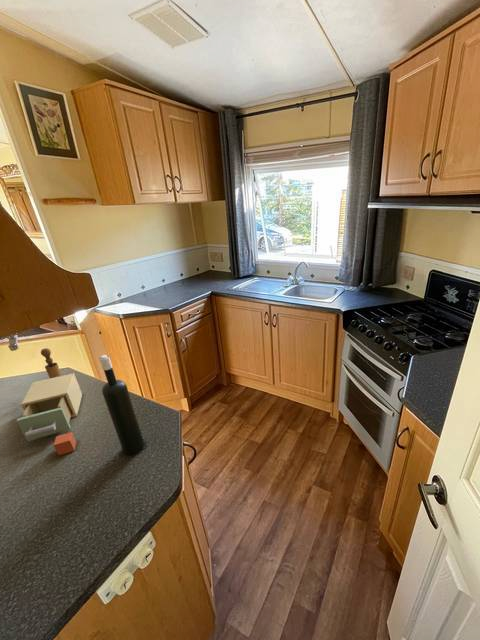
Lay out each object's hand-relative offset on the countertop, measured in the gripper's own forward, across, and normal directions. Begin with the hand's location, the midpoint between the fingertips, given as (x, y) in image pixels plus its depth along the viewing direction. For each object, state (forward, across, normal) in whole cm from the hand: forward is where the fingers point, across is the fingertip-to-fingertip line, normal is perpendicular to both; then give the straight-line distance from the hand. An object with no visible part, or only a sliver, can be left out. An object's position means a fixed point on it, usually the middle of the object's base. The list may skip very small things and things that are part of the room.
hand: (5, 356), depth 84 cm
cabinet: (+26, -9, +1) cm, 28 cm away
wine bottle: (+27, +17, +33) cm, 46 cm away
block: (+27, +12, +13) cm, 32 cm away
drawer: (+26, +1, +4) cm, 26 cm away
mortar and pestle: (+26, -24, -5) cm, 36 cm away
